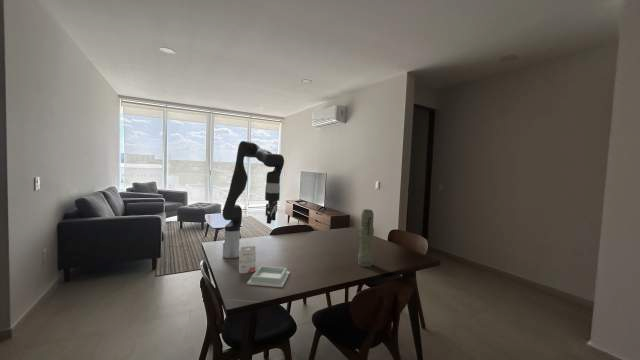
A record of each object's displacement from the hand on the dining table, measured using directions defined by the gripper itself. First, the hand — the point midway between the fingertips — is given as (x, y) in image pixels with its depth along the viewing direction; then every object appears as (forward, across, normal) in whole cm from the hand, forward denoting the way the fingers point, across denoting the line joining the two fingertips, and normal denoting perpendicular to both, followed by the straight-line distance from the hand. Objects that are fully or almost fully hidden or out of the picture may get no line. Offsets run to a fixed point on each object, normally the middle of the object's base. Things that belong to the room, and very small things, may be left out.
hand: (271, 221), depth 140 cm
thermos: (+30, -31, +54) cm, 69 cm away
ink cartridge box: (+30, -6, -14) cm, 34 cm away
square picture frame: (+30, +1, +1) cm, 30 cm away
